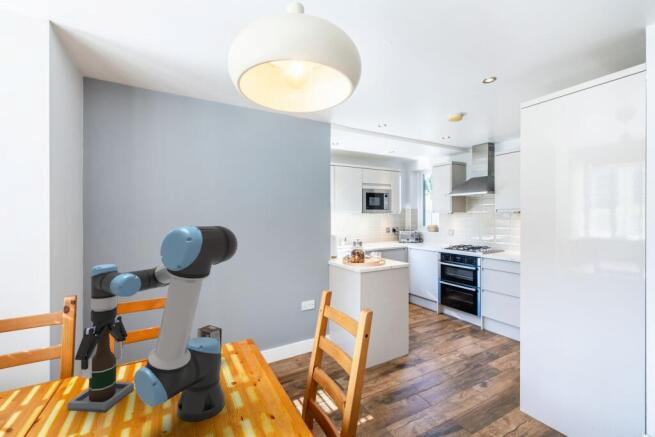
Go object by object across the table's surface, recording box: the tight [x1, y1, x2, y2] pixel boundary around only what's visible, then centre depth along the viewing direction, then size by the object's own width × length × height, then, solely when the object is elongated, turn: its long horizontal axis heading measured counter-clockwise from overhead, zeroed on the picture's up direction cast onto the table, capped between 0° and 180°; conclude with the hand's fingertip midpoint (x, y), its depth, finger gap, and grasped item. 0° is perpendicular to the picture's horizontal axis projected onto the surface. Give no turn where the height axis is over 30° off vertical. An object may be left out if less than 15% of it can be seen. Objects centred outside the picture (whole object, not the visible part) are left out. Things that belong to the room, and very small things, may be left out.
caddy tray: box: [66, 381, 135, 413], centre depth 107 cm, size 13×13×2 cm
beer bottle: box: [88, 329, 117, 402], centre depth 107 cm, size 8×8×24 cm
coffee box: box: [196, 324, 223, 366], centre depth 133 cm, size 9×6×16 cm
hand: (103, 367), depth 107 cm, fingers open, 13 cm apart
